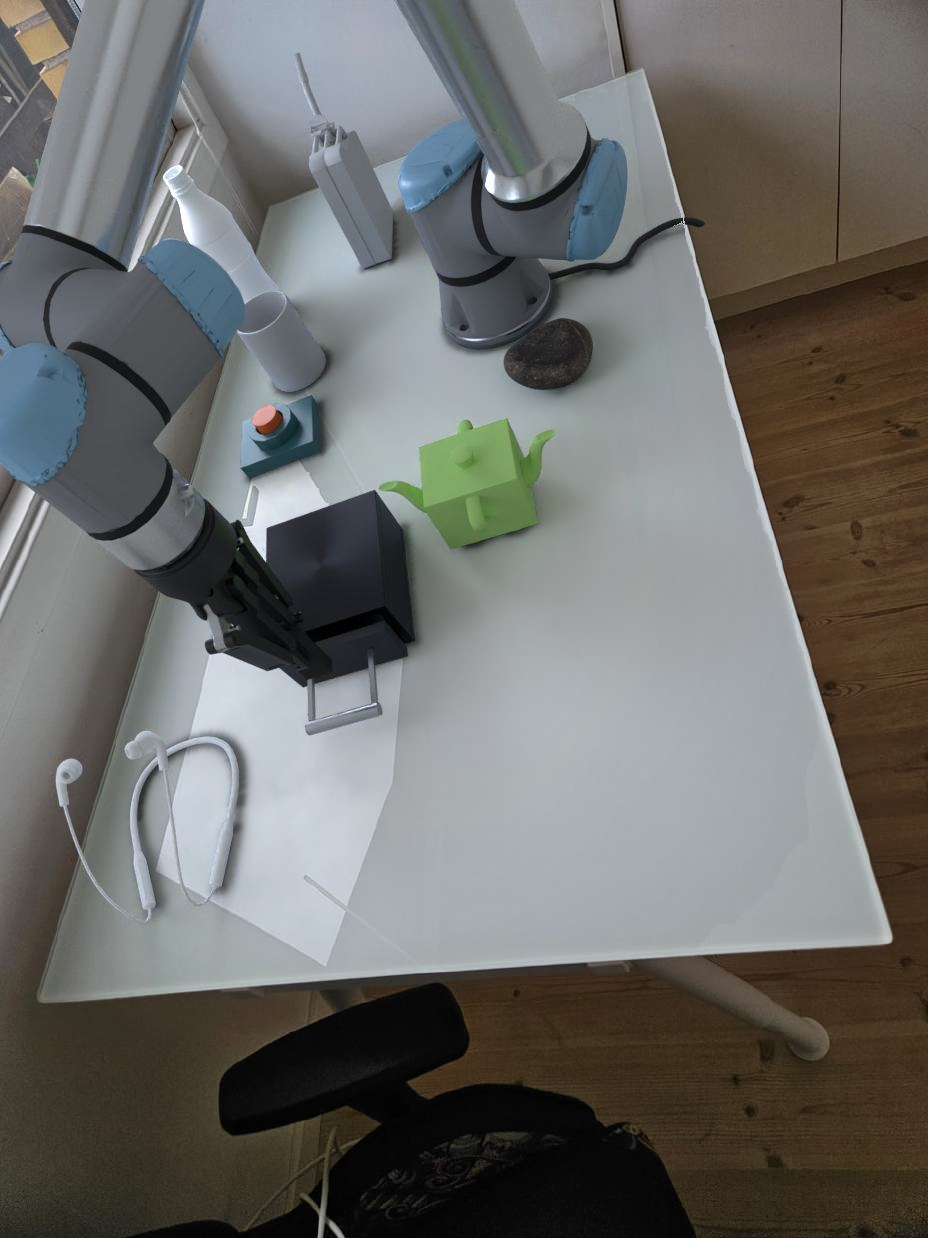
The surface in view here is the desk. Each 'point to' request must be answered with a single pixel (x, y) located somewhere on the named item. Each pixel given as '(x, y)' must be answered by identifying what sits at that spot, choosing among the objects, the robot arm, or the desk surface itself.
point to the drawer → (351, 665)
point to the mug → (281, 341)
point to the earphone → (144, 746)
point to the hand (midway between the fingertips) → (319, 669)
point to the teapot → (476, 482)
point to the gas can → (349, 184)
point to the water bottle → (218, 235)
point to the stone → (550, 355)
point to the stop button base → (282, 438)
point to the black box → (343, 565)
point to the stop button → (267, 419)
